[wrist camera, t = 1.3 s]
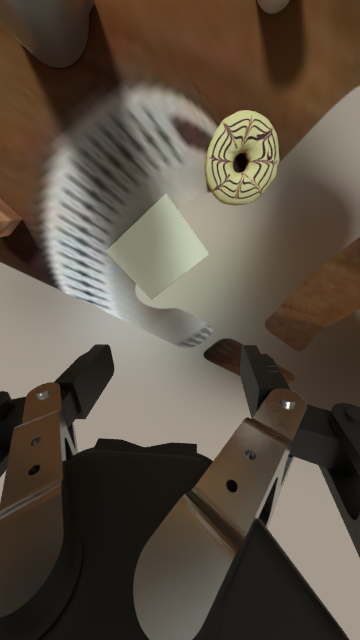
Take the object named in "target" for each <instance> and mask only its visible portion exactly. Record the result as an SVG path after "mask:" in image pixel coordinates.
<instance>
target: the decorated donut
mask: <svg viewBox="0 0 360 640" xmlns="http://www.w3.org/2000/svg"><path fill="white" fill-rule="evenodd" d="M278 149H279V146H278V139H277V134H276V132H275V130H274V128H273V126H272V124H271V123H270V122H269V120H268V119H267V118H265V117H264V116H263V115H261V114H259V113H257V112H254V111H249V110H245V111H239V112H236V113H235V114H233V115H231V116H229V117H227V118H225V119H224V120H223V121H222V122H221V124H220V125H219V127H218V128H217V130H216V131H215V134H214V136H213V138H212V140H211V142H210V145H209V148H208V151H207V155H206V163H205V176H206V181H207V184H208V186H209V188H210V190H211V192H212V193H213V195H214V196H215V197H216V198H217V199H218V200H219V201H220V202H222V203H225V204H229V205H243V204H248V203H251V202H253V201H255V200H256V199H258V198H259V197H260V196H261V195H262V194H263V193H264V192H265V191H266V189H267V188H268V187H269V185H270V183H271V182H272V181H273V180H274V178H275V176H276V172H277V165H278V163H279V152H278ZM240 153H243V154H244V155H245V156H246V159H247V165H246V168H245V170H244V171H243V172H241V173H237V172H235V171H234V168H233V162H234V159H235V157H236V156H237V155H238V154H240Z"/></svg>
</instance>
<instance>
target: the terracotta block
mask: <svg viewBox="0 0 360 640" xmlns="http://www.w3.org/2000/svg"><path fill="white" fill-rule="evenodd" d="M21 221H22V218H21V217H20V216H19V215H18V214H16V213H15V212H14V211H13V210H12V209H11V208H10V207H9V206H8V205H7V204H6V203H5V202H4V201H2V200H1V199H0V237H4V236H9V235H10V234H11V233H12V232H13V230H14V229H15V228H16V227H17V225H18V224H19V223H20V222H21Z"/></svg>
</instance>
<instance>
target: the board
mask: <svg viewBox="0 0 360 640" xmlns="http://www.w3.org/2000/svg"><path fill="white" fill-rule="evenodd" d="M106 252H107V253H108V255H109V256H110V257H111V258H112V259H113V260H114V261H115V262H116V263H117V264H118V265H119V266H120V267H121V268H122V269H123V270H124V271H125V272H126V273H127V274H128V275H129V276H130V277H131V278H132V280H133V281H134V282H135V283H136V284H137V285H138V286H139V287H140V288H141V289H142V290H143V291H144V292H145V293H146V294H147V295H148V296H149V297H150V298H151V299H153V298H154V297H156V296H157V295H158V294H159V293H161V292H162V291H163V290H164V289H166V288H167V287H168V286H169V285H171V284H172V283H173V282H174V281H176V280H177V279H178V278H180V277H181V276H182V275H184V274H185V273H186V272H187V271H189V270H190V269H191V268H192V267H193V266H195V265H196V264H198V263H199V262H200V261H201V260H203V259H204V258H205V257H206V256H208V255H209V253H208V252H207V251H206V249H205V248H204V246H203V245H202V243H200V241H199V239H198V238H197V237H196V235H195V234H194V232H193V231H192V229H191V228H190V226H189V225H188V224H187V222H186V221H185V219H184V218H183V216H182V215H181V214H180V212H179V211H178V209H177V208H176V206H175V205H174V204H173V202H172V201H171V199H170V198H169V197H168V195H167V194H165V195H164V196H163V197H162V198H160V199H159V200H158V201H157V202H156V203H155V204H154V205H153V206H152V207H151V208H150V209H149V210H148V211H147V212H146V213H145V214H144V215H143V216H142V217H141V218H140V219H139V220H138V221H136V222H135V223H134V224H133V225H132V226H131V227H130V228H129V229H128V230H127V231H126V232H125V233H124V234H123V235H122V236H121V237H120V238H119V239H118V240H117V241H116V242H115V243H114V244H113V245H111V246H110V247H109V248H108V249H107V250H106Z"/></svg>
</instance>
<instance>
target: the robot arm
mask: <svg viewBox="0 0 360 640" xmlns="http://www.w3.org/2000/svg"><path fill="white" fill-rule="evenodd" d="M93 7H94V0H0V21H1V22H2V23H3V24H4V25H5V27H6V28H7V29H8V30H9V31H10V32H11V33H12V34H13V35H14V36H15V38H16V39H17V40H18V41H19V42H20V43H21V44H22V45H23V46H24V47H25V48H26V49H27V50H28V51H29V52H30V53H31V54H32V55H33V56H34V57H35V58H37V59H38V60H39V61H40V62H42V63H44V64H46V65H48V66H51V67H55V68H65V67H68V66H70V65H72V64H73V63H75V62H76V61H77V60H78V59H79V58H80V56H81V55H82V53H83V51H84V49H85V46H86V43H87V39H88V33H89V14H90V12H91V10H92V8H93ZM113 373H114V363H113V359H112V354H111V349H110V346H109V345H94V346H93V347H92V349H90V351H89V352H87V353H85V354H83V355H82V356H80V357H79V358H78V359H77V360H76V361H75V362H74V363H73V364H72V365H71V366H70V367H69V368H68V369H67V370H66V371H65V372H64V373H63V374H62V375H61V376H60V377H59V378H58V379H57V380H56V381H55V382H53V383H46V384H42V385H40V386H38V387H36V388H34V389H33V390H32V391H30V392H29V393H28V394H27V396H26V397H22V398H17V399H11V397H10V395H9V394H8V392H5V391H1V392H0V477H1V475H2V474H3V473H4V472H5V471H6V474H5V480H4V486H3V491H2V496H1V502H0V640H349V639H348V637H347V635H346V634H345V633H344V631H343V630H342V628H341V627H340V626H339V624H338V623H337V622H336V620H335V619H334V618H333V616H332V615H331V614H330V612H329V611H328V610H327V608H326V607H325V605H324V604H323V603H322V602H321V600H320V599H319V597H318V596H317V595H316V593H315V592H314V591H313V589H312V588H311V587H310V585H309V584H308V583H307V581H306V580H305V579H304V577H303V576H302V575H301V573H300V572H299V571H298V569H297V568H296V567H295V565H294V564H293V563H292V561H291V560H290V559H289V557H288V556H287V555H286V553H285V552H284V551H283V549H282V548H281V546H280V545H279V544H278V543H277V541H276V540H275V539H274V537H273V536H272V534H271V533H270V532H269V531H268V529H267V528H268V525H269V522H270V520H271V518H272V515H273V512H274V509H275V506H276V503H277V500H278V497H279V494H280V491H281V489H282V486H283V484H284V482H285V479H286V477H287V474H288V471H289V469H290V467H291V464H292V462H293V459H294V457H297V458H300V459H303V460H306V461H308V462H311V463H314V464H317V465H319V467H320V469H321V471H322V474H323V476H324V478H325V480H326V483H327V485H328V487H329V490H330V492H331V494H332V496H333V498H334V501H335V503H336V505H337V508H338V510H339V512H340V514H341V517H342V519H343V521H344V523H345V526H346V528H347V530H348V532H349V534H350V537H351V539H352V541H353V544H354V546H355V548H356V550H357V553H358V555H359V557H360V407H358V406H355V405H352V404H347V403H338V404H335V405H334V406H333V407H332V410H331V411H329V410H325V409H321V408H317V407H314V406H311V405H308V404H307V403H306V401H305V399H304V398H303V397H302V396H301V395H299V394H298V393H296V392H294V391H292V390H290V388H289V386H288V384H287V383H286V381H285V379H284V377H283V375H282V374H281V372H280V370H279V368H278V367H277V365H276V363H275V362H274V360H273V359H272V358H271V357H269V356H268V355H267V354H260V352H259V350H258V348H257V346H256V345H243V346H242V352H241V365H240V374H241V380H242V384H243V388H244V391H245V395H246V399H247V402H248V406H249V410H250V414H251V417H252V419H250V418H245V419H244V420H243V422H242V423H241V424H240V426H239V427H238V428H237V430H236V431H235V433H234V434H233V435H232V437H231V438H230V439H229V441H228V442H227V444H226V445H225V446H224V447H223V449H222V450H221V452H220V453H219V454H218V456H217V457H216V458H215V460H214V461H212V460H211V459H209V458H208V457H205V456H203V455H201V454H198V453H197V444H187V443H167V444H162V445H156V446H151V447H141V446H138V445H135V444H133V443H130V442H127V441H124V440H119V439H101V438H99V439H98V441H97V443H96V445H95V447H93V448H90V449H86V450H84V451H81V452H79V453H78V449H77V442H76V435H75V429H74V425H73V422H74V420H75V419H86V417H87V416H88V414H89V412H90V411H91V409H92V407H93V406H94V404H95V403H96V401H97V400H98V398H99V396H100V395H101V393H102V392H103V390H104V388H105V387H106V385H107V384H108V382H109V381H110V379H111V377H112V376H113Z"/></svg>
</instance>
